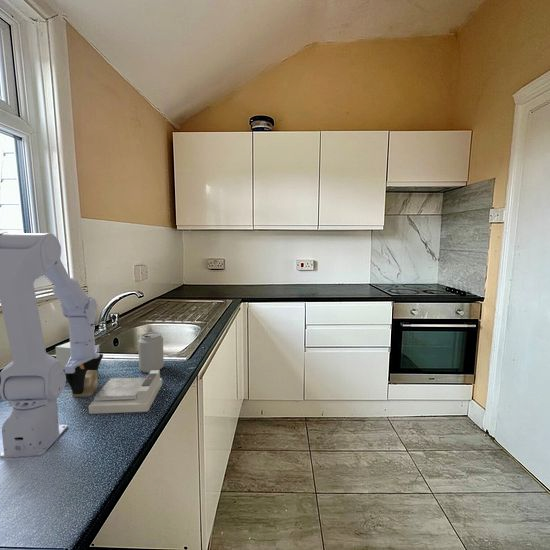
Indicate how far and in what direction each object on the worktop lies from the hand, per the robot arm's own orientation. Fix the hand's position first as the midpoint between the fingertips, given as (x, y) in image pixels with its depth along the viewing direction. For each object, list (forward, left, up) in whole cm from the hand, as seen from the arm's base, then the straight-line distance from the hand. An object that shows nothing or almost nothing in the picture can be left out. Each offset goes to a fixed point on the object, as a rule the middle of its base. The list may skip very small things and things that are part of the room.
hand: (85, 386), depth 85 cm
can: (+14, -14, -2) cm, 20 cm away
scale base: (-4, -13, -2) cm, 14 cm away
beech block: (0, 0, -2) cm, 2 cm away
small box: (+11, +8, -2) cm, 14 cm away
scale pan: (-4, -11, +1) cm, 12 cm away
